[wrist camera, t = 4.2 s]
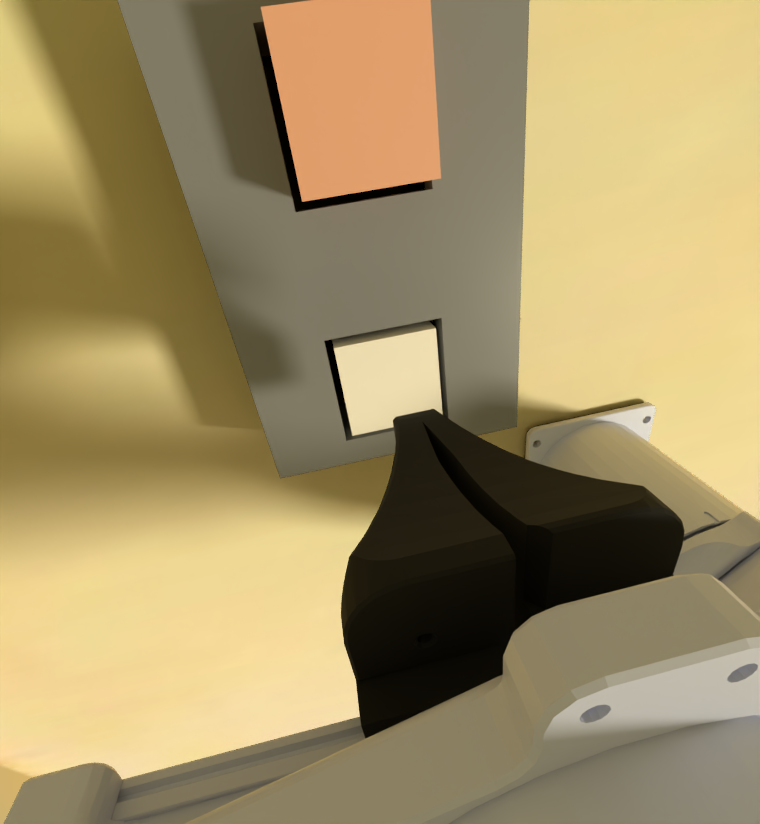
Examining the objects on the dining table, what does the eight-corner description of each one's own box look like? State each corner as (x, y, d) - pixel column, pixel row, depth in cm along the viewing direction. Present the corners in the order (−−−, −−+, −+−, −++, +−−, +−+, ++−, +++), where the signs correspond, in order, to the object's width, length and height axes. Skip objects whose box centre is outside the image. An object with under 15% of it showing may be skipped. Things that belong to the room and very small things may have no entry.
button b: (412, 181, 15) (441, 178, 12) (302, 199, 14) (302, 201, 11) (398, 34, 13) (429, -16, 10) (270, 52, 12) (260, 6, 9)
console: (483, 390, 22) (516, 426, 19) (284, 432, 21) (280, 478, 18) (476, -12, 14) (531, -77, 11) (159, 31, 13) (108, -25, 10)
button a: (422, 383, 21) (442, 416, 18) (344, 399, 20) (352, 436, 17) (414, 306, 19) (435, 328, 16) (328, 322, 18) (333, 348, 15)
